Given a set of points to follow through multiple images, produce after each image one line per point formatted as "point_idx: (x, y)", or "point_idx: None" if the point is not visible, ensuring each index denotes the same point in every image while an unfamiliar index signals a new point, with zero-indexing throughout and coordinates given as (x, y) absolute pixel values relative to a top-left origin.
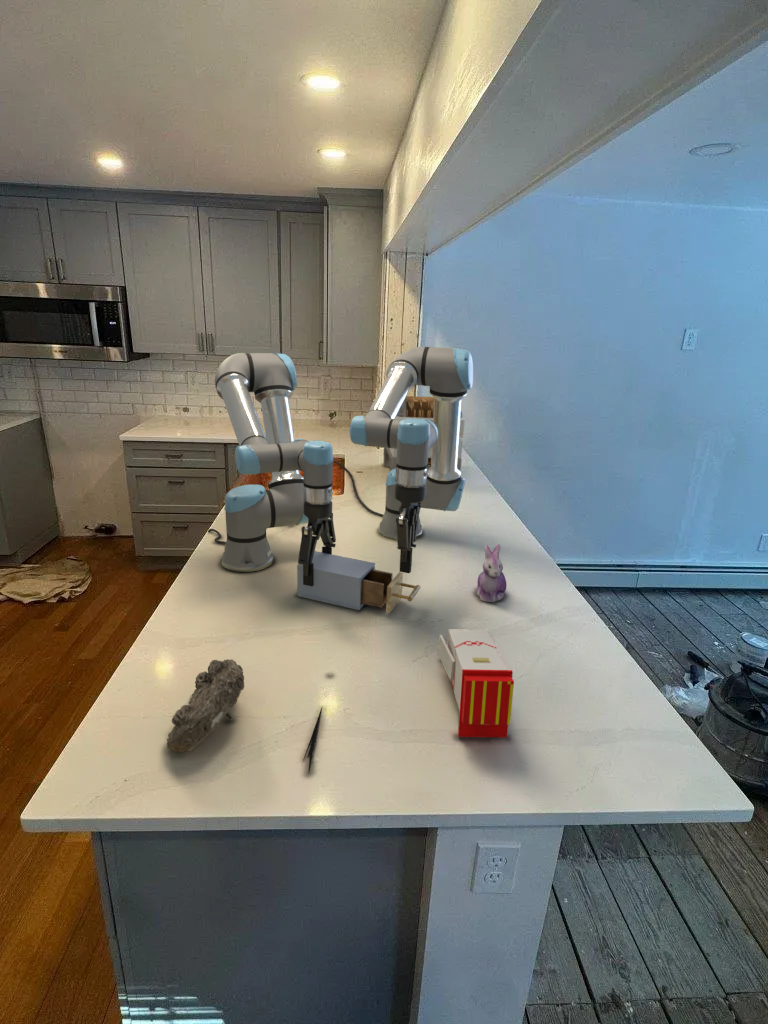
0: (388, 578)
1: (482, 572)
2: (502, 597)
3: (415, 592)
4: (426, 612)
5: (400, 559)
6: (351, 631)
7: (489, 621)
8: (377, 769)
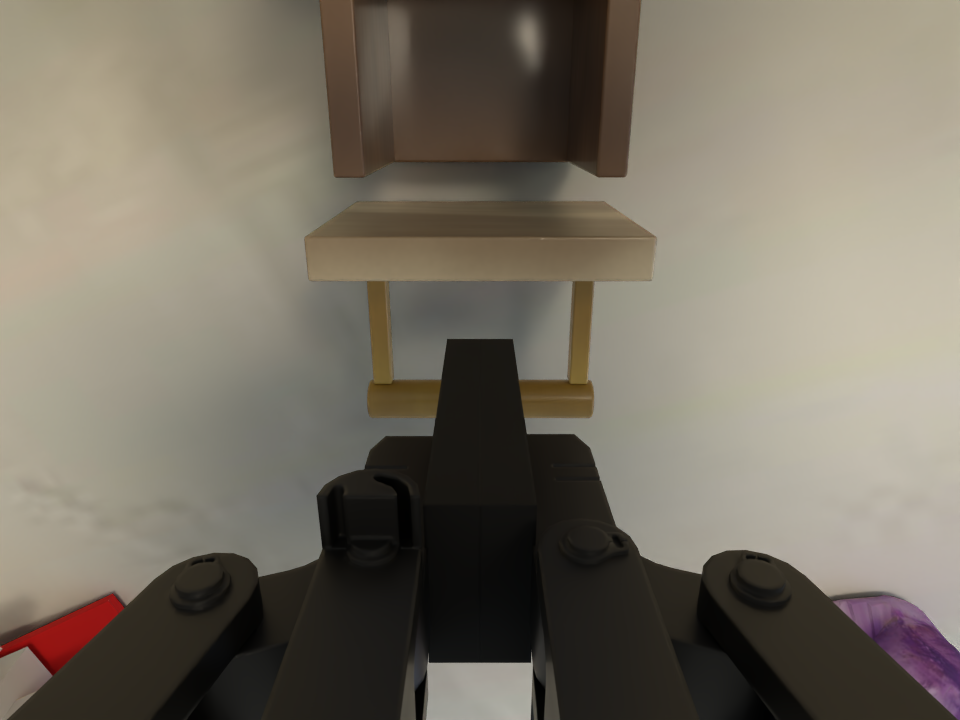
0: (588, 140)
1: (955, 708)
2: None
3: None
4: None
5: (438, 409)
6: (49, 56)
7: None
8: None
